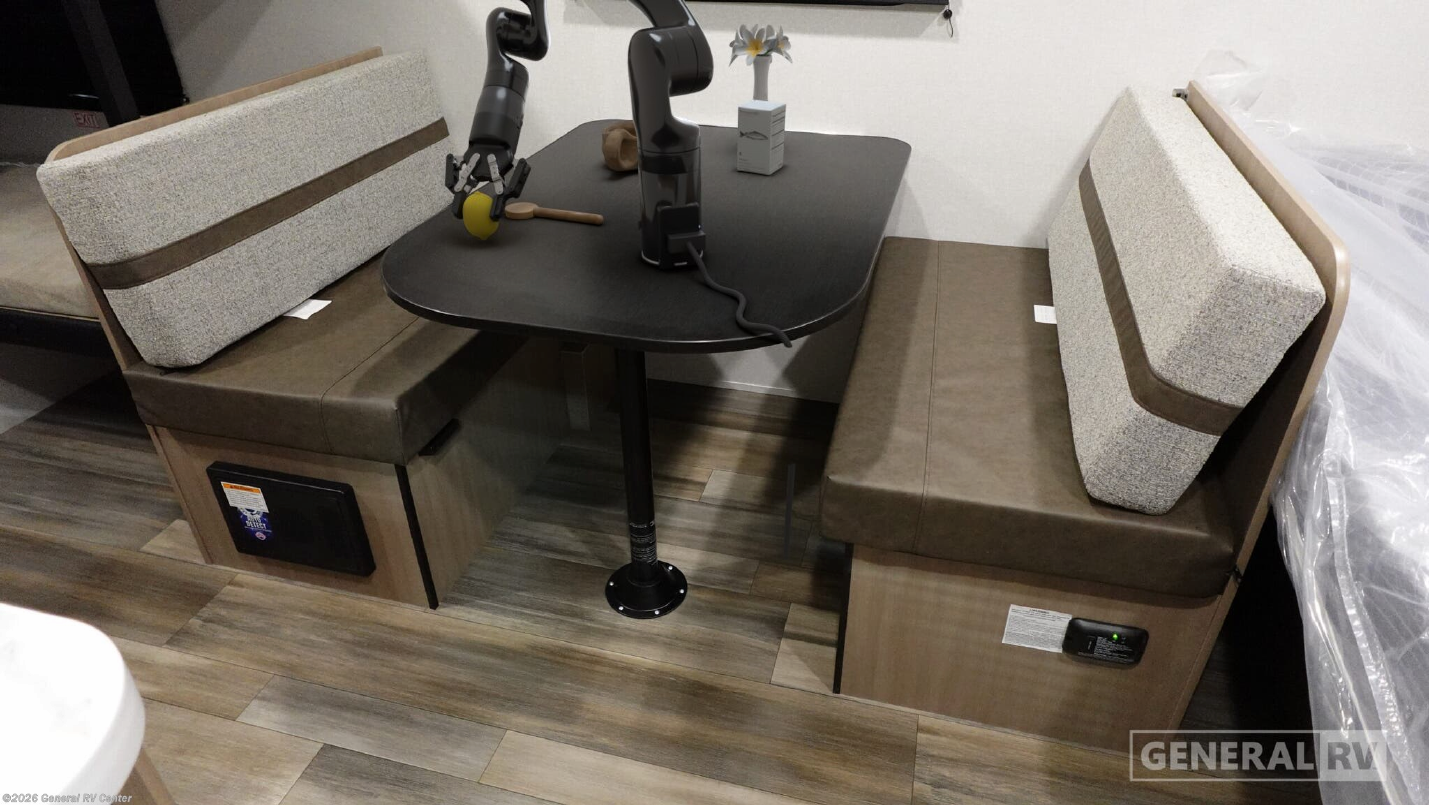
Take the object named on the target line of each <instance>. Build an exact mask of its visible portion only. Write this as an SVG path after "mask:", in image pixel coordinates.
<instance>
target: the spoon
mask: <svg viewBox="0 0 1429 805" xmlns="http://www.w3.org/2000/svg"><path fill="white" fill-rule="evenodd" d="M504 214H505V216H506V217H507V218H509V219H512V220H527V219H531V218H532V219H533V218H535V217H538V218H546V219H554V220H562V221H570V222H577V223H584V224H593V225H601V224H603V223H604V217H603V215H602V214H595V213H588V212H582V211H581V212H580V211H573V210H564V209H556V208H548V207H541V206H538V205H537V204H536V203H533V202H515V203H511V204H508V205H506V206H505V210H504Z"/></svg>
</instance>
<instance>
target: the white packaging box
mask: <svg viewBox="0 0 1429 805" xmlns="http://www.w3.org/2000/svg"><path fill="white" fill-rule="evenodd" d="M786 112H787V103H786V102H785V103H784V102H776V101H770V100H768V101H761V100H753V99H751V100H749V101H747V102H744V103H742V104H740V105H739V106H737V143H736V146H737V148H736V171H740V172H741V171H742V172H749V173H754V174H761V175H766V176H770V175H772V174H773V173H775V172H777V171H778V170H780V169H781V168H782V167H783V166H784V155H785V154H784V152H785V134H786V133H785V132H786Z"/></svg>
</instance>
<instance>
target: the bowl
mask: <svg viewBox="0 0 1429 805" xmlns="http://www.w3.org/2000/svg"><path fill="white" fill-rule="evenodd" d="M601 138H602V139H601V152H602V155H603V156H604V161H605V164H606V165H607V167H608V168H609V169H611V170H613V171H616V172H626V171H633V170H638V149H637V135H636V131H635V128H634V124H633V119H628V120H623V121H620V122H619V121H618V122H615V123H613V124H610V125H607V126H605V127H604V128H603V129H602V130H601Z"/></svg>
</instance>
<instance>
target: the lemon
mask: <svg viewBox="0 0 1429 805" xmlns="http://www.w3.org/2000/svg"><path fill="white" fill-rule="evenodd" d="M492 201H493V197H492V198H491V196H489V195H487V194H486V193H483V192H481V191H479V190H476V191H474V192H473V193H472V194H469V195H468V197H467V199H466V200H465V202H464V205H463V219H462V220H463V223H464V226H465V228H466V230H467V231H468V232H469V233H470V234H471V235H472V236H474V237H477V238H480V239H481V240H482V241H486V240H487V239H488V238H489V237H491V236H492V235H493V234H495V232H496V231H497V229H498V227H499V224H500V221H499V222H493V221H492V220H491V218H490V216H489V214H490V210H491V205H492Z"/></svg>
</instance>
